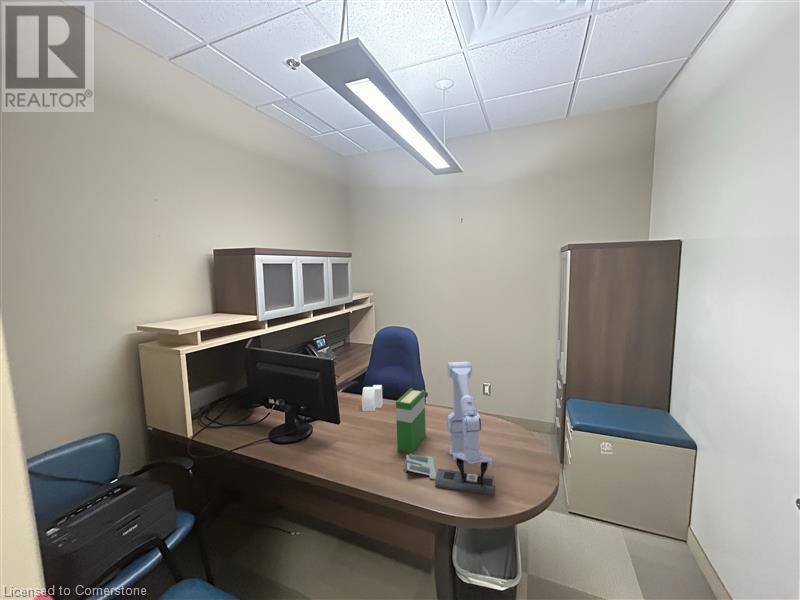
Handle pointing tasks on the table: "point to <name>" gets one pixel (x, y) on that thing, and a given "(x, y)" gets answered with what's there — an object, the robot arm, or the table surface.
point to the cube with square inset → (472, 479)
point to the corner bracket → (372, 398)
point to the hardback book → (410, 420)
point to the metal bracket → (420, 465)
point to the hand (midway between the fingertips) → (472, 478)
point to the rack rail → (457, 483)
